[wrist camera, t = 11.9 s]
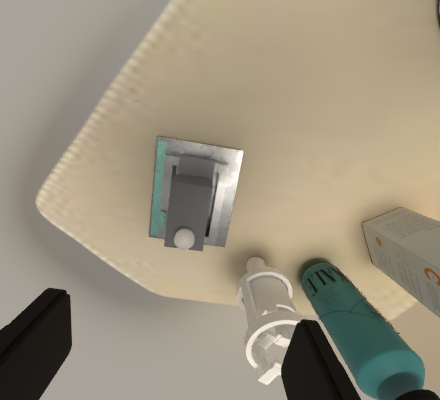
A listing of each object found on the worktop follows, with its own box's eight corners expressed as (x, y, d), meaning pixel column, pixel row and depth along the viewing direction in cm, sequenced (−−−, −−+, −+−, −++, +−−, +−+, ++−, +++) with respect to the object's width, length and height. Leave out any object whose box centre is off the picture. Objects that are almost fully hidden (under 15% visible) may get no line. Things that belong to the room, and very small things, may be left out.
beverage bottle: (322, 294, 36) (445, 475, 17) (288, 282, 35) (377, 459, 16) (343, 263, 35) (505, 424, 16) (307, 249, 34) (433, 403, 15)
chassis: (159, 136, 28) (149, 136, 24) (242, 150, 29) (247, 153, 25) (150, 233, 32) (141, 249, 28) (224, 243, 33) (226, 260, 29)
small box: (411, 249, 34) (524, 315, 22) (371, 264, 35) (460, 337, 22) (401, 205, 32) (522, 251, 20) (360, 222, 33) (451, 277, 20)
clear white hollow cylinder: (224, 270, 34) (232, 369, 20) (251, 237, 33) (281, 318, 18) (259, 291, 36) (290, 397, 21) (286, 259, 34) (340, 352, 20)
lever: (184, 152, 28) (171, 161, 19) (215, 157, 28) (216, 169, 19) (174, 230, 31) (160, 268, 22) (202, 234, 31) (199, 273, 23)
